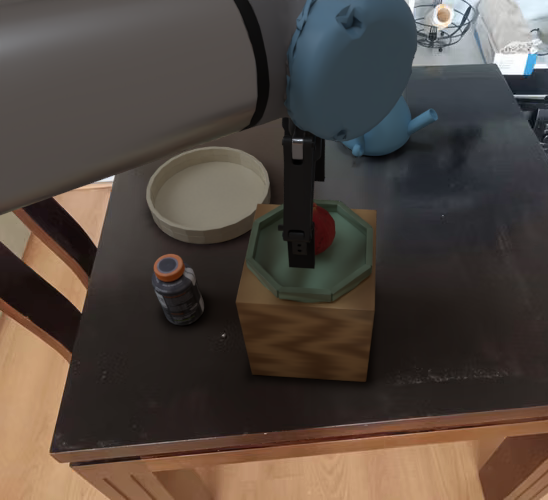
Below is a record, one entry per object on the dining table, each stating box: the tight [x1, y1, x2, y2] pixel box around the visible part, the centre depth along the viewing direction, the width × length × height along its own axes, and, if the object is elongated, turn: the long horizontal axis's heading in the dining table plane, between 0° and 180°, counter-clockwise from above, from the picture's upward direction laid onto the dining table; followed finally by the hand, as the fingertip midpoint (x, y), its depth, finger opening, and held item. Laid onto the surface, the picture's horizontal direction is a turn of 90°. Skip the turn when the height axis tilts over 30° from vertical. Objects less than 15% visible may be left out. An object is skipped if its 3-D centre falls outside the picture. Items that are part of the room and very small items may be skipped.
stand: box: [235, 198, 378, 383], centre depth 73 cm, size 16×16×20 cm
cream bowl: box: [145, 145, 272, 245], centre depth 96 cm, size 21×21×4 cm
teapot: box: [341, 94, 439, 158], centre depth 104 cm, size 20×20×13 cm
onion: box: [312, 202, 336, 255], centre depth 63 cm, size 6×6×8 cm
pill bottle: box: [151, 253, 205, 326], centre depth 78 cm, size 6×6×11 cm
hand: (308, 219), depth 62 cm, fingers open, 13 cm apart
